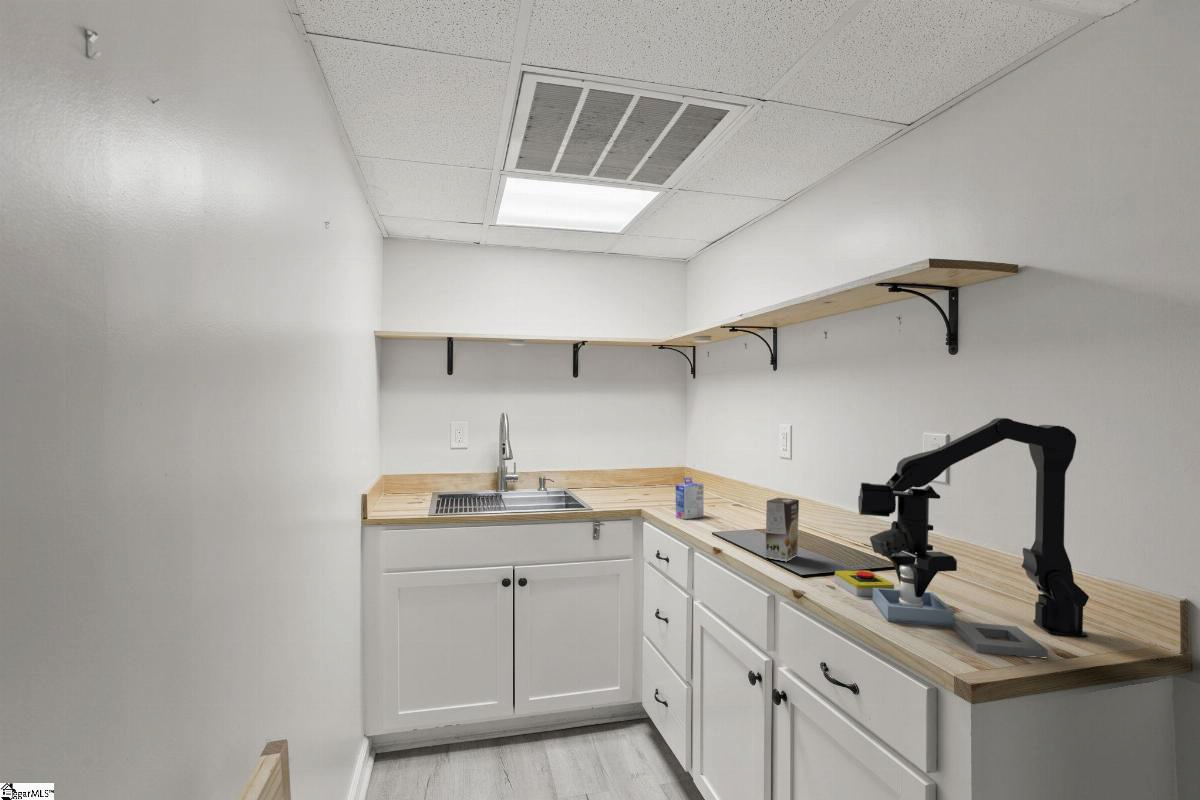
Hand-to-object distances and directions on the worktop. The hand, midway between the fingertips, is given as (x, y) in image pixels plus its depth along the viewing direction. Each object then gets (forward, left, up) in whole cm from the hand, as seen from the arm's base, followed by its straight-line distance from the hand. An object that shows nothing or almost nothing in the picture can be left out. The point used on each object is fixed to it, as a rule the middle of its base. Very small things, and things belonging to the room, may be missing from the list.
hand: (911, 593), depth 123 cm
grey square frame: (-11, +12, -4) cm, 17 cm away
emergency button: (+6, -15, -5) cm, 17 cm away
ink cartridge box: (+50, -89, -4) cm, 102 cm away
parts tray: (0, 0, -4) cm, 4 cm away
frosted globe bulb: (0, 0, -2) cm, 3 cm away
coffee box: (+22, -39, -4) cm, 45 cm away
